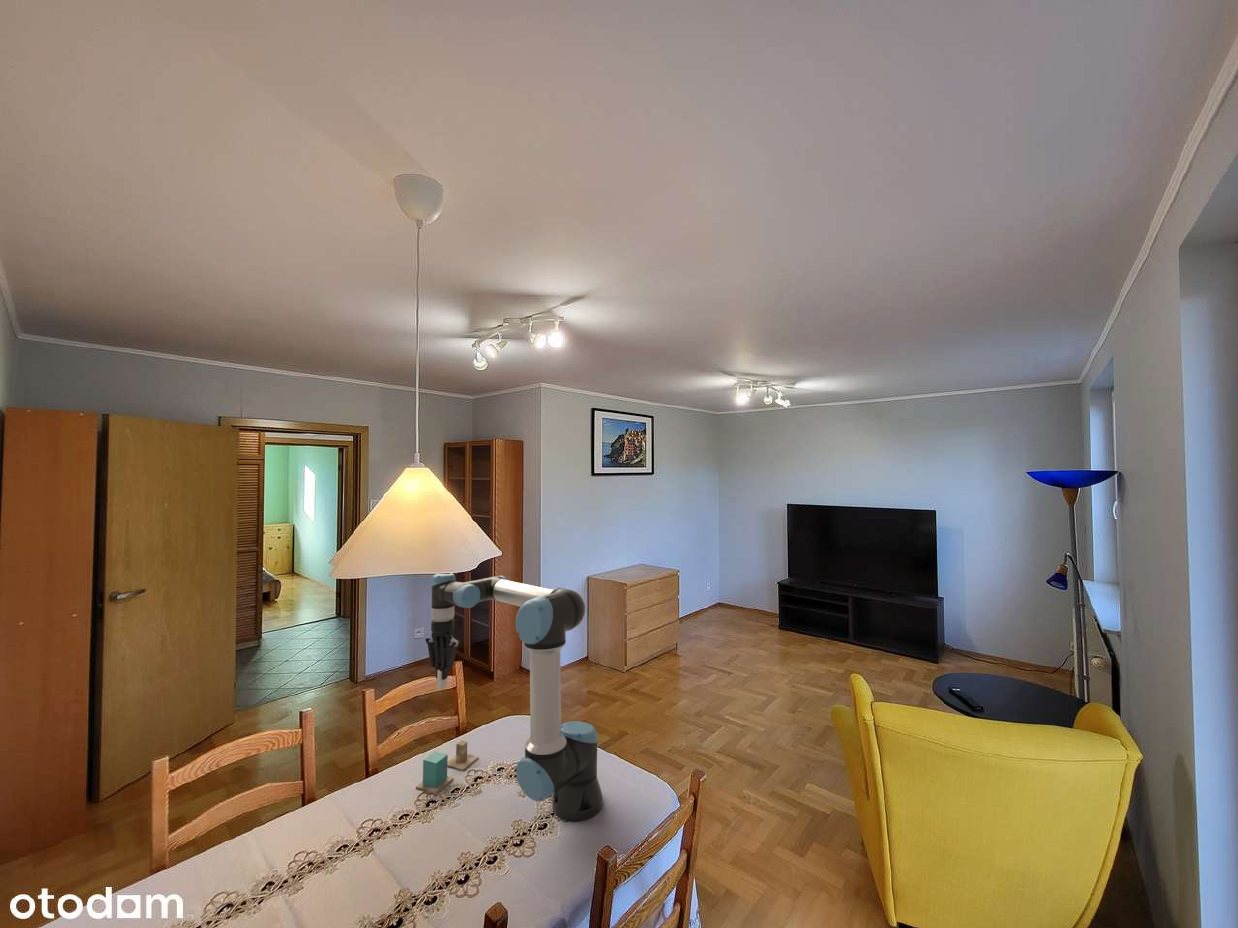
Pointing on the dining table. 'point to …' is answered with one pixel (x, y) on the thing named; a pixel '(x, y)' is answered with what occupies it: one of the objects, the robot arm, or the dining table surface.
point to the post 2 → (461, 757)
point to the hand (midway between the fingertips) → (441, 688)
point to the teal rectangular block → (435, 769)
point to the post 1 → (433, 790)
